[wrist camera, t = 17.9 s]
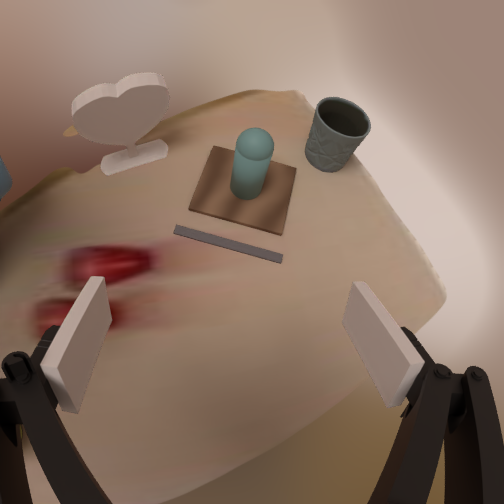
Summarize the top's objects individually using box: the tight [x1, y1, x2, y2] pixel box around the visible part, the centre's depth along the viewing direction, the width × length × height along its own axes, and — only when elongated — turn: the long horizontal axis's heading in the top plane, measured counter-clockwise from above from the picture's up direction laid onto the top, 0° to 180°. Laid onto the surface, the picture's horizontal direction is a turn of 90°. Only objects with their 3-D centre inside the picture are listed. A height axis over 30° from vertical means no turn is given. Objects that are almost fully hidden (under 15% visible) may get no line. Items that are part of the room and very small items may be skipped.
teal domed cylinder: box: [230, 128, 274, 200], centre depth 48 cm, size 6×6×14 cm
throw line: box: [174, 225, 283, 263], centre depth 51 cm, size 18×2×1 cm, turn 76°
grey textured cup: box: [305, 97, 371, 173], centre depth 55 cm, size 10×10×12 cm
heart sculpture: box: [72, 73, 170, 176], centre depth 46 cm, size 16×5×18 cm, turn 112°
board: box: [189, 146, 296, 236], centre depth 55 cm, size 16×14×1 cm
